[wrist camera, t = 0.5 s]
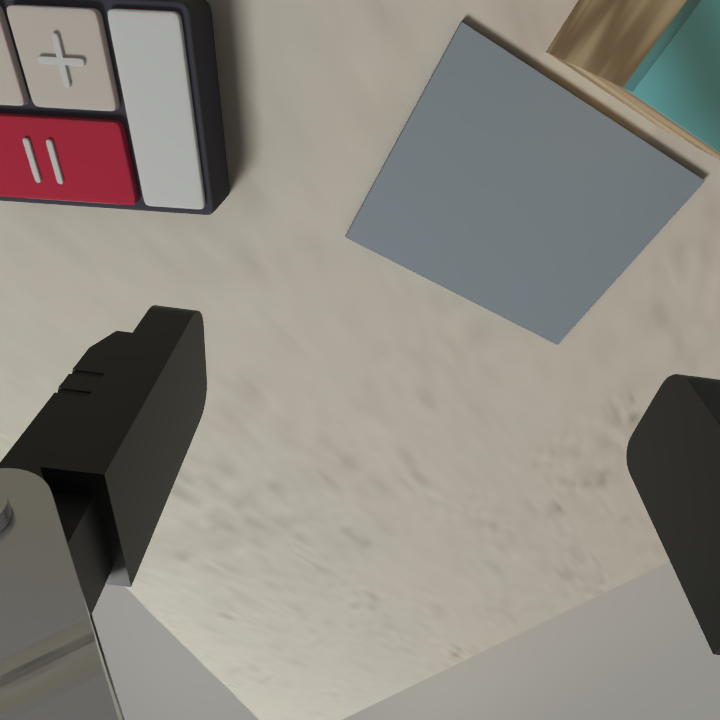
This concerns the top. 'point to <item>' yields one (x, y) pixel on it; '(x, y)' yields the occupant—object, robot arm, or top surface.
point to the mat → (517, 191)
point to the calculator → (111, 105)
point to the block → (651, 60)
